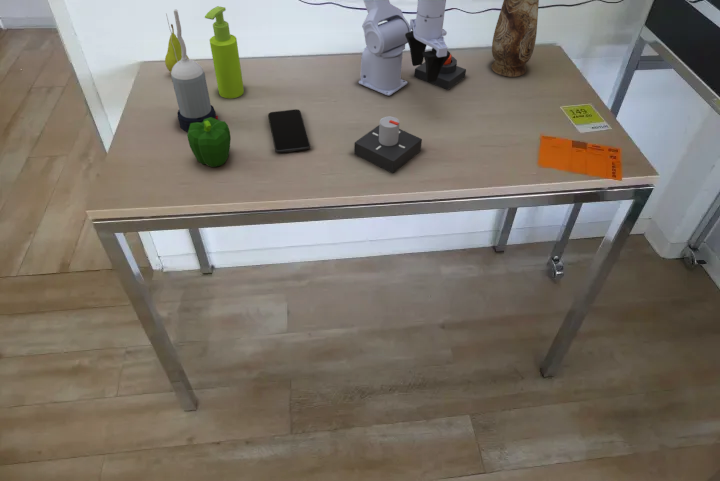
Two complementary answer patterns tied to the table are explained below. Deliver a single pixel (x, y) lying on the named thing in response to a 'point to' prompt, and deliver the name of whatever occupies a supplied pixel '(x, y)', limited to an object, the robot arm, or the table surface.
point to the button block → (443, 74)
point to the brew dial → (389, 131)
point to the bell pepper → (210, 141)
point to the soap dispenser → (225, 56)
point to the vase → (514, 36)
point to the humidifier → (190, 87)
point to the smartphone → (288, 131)
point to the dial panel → (387, 149)
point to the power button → (448, 60)
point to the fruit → (170, 56)
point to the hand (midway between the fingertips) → (424, 72)
